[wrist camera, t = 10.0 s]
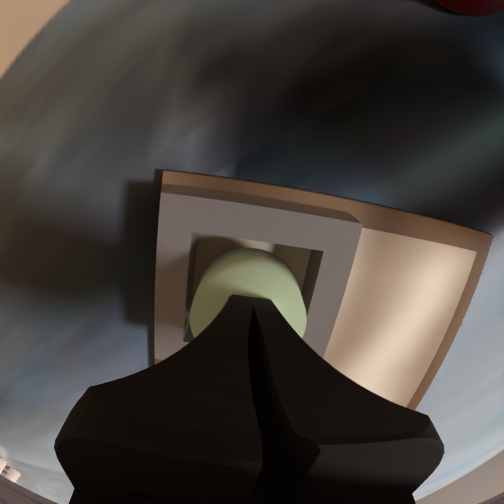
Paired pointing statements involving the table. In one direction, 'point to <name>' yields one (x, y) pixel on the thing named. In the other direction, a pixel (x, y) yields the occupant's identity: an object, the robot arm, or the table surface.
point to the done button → (247, 287)
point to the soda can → (473, 6)
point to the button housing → (258, 229)
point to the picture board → (375, 284)
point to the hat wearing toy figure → (12, 473)
